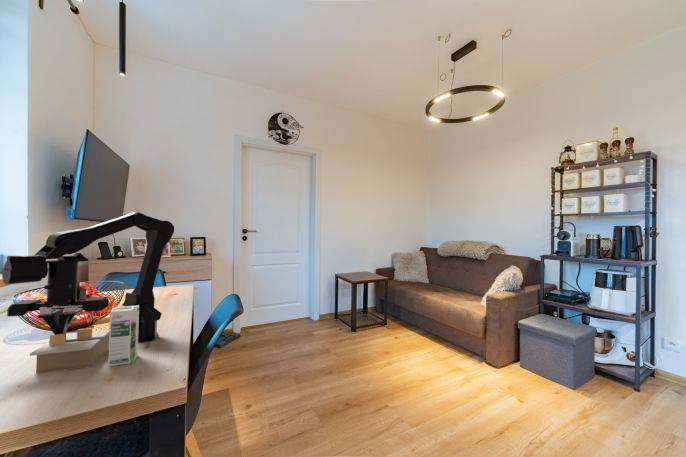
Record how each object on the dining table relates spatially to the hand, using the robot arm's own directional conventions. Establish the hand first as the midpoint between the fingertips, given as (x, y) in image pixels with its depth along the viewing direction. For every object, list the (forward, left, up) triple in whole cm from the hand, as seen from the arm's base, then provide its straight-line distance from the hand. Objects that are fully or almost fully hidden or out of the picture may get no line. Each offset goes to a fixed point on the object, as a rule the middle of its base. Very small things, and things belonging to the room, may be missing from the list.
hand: (60, 338), depth 76 cm
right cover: (-3, -4, -2) cm, 5 cm away
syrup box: (-15, +4, -7) cm, 17 cm away
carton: (-3, -1, -7) cm, 7 cm away
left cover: (-3, +4, -2) cm, 5 cm away
